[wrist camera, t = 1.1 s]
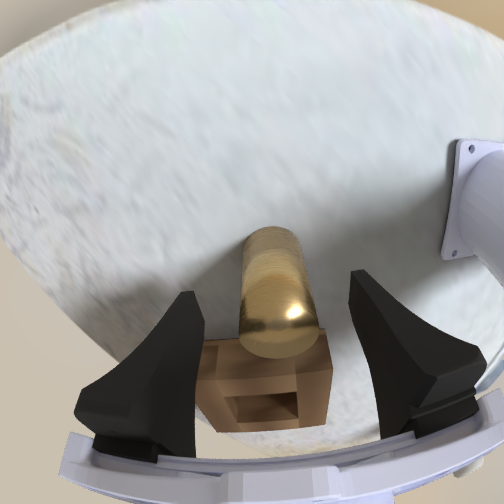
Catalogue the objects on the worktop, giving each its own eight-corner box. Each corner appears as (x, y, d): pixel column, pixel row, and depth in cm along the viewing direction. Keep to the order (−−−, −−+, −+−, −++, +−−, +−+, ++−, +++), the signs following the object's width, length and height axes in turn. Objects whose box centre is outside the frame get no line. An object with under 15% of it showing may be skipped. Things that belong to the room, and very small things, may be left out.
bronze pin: (298, 223, 15) (319, 301, 10) (302, 271, 17) (318, 353, 12) (238, 230, 15) (231, 311, 10) (248, 277, 17) (246, 361, 12)
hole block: (324, 328, 20) (333, 368, 17) (320, 393, 25) (325, 424, 22) (188, 341, 20) (180, 380, 18) (219, 402, 26) (217, 432, 23)
